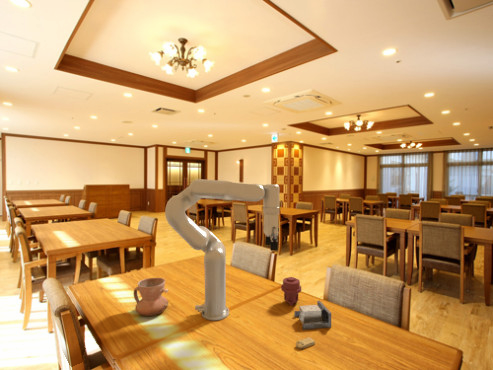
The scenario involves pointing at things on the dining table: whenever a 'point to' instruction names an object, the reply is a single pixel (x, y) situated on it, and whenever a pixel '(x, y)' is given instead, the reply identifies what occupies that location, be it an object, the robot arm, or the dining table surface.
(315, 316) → the aluminium block
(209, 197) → the robot arm
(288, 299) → the mechanical component
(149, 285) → the ceramic jug
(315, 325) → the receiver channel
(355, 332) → the dining table surface
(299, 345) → the brass key tag
